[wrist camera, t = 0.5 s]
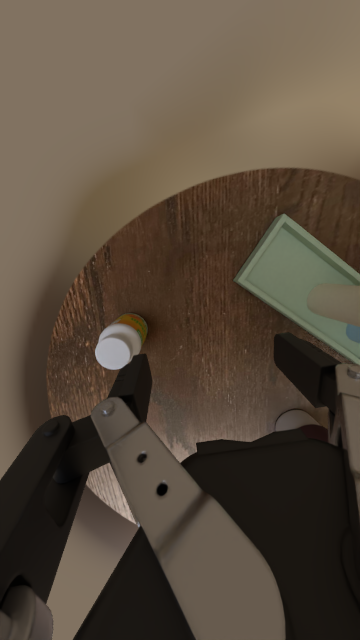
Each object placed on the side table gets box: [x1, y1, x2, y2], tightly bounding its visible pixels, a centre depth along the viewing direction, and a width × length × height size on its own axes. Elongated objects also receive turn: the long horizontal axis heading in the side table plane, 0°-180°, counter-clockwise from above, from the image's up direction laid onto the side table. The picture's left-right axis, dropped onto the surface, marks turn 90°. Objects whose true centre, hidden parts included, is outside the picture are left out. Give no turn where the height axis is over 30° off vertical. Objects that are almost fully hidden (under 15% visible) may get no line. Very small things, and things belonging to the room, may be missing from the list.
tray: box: [233, 214, 360, 365], centre depth 29 cm, size 28×11×2 cm, turn 58°
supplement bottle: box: [95, 313, 148, 370], centre depth 26 cm, size 5×5×10 cm
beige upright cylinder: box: [307, 283, 360, 327], centre depth 25 cm, size 5×5×10 cm
